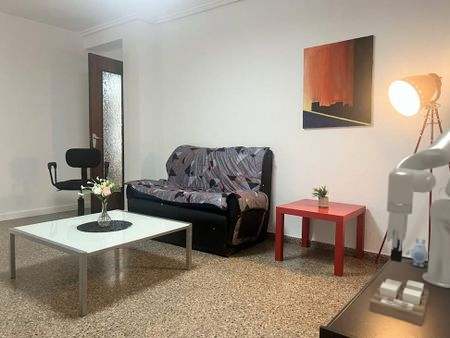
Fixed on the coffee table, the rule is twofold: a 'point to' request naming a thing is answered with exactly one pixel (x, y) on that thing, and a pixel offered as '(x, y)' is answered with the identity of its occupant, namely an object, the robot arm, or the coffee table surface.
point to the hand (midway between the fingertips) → (396, 260)
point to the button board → (399, 306)
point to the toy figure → (418, 253)
